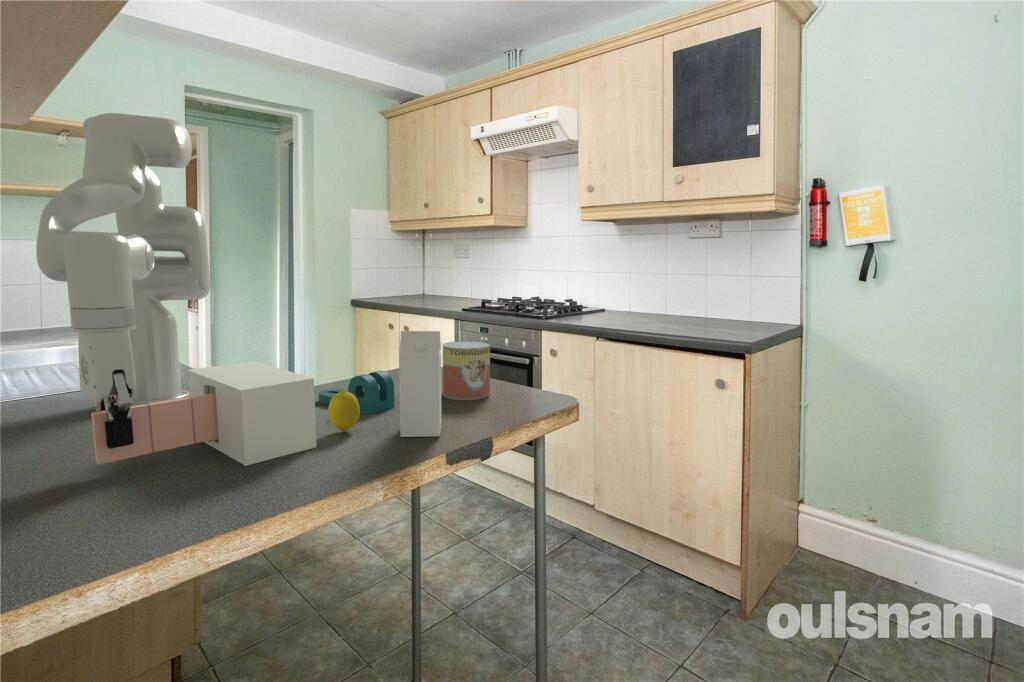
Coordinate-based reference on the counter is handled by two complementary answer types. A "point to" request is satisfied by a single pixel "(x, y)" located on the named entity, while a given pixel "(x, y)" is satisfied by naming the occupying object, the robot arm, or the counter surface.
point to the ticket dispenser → (258, 410)
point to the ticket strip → (160, 427)
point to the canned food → (466, 370)
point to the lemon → (344, 410)
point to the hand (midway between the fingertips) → (115, 440)
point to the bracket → (367, 392)
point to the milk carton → (420, 383)
